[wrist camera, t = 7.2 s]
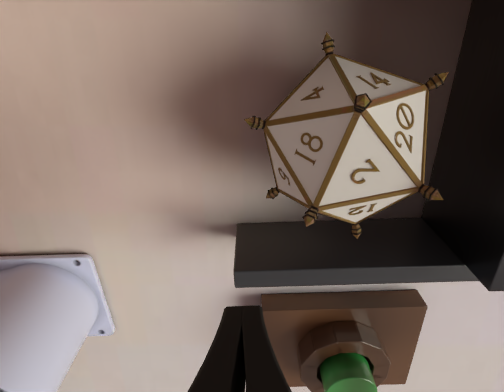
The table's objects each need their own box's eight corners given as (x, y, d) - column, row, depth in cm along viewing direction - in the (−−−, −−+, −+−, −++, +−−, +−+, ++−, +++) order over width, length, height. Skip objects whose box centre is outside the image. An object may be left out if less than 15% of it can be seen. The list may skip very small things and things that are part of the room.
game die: (299, 85, 22) (300, -53, 12) (426, 132, 20) (552, 17, 10) (241, 206, 21) (191, 167, 11) (369, 265, 19) (446, 282, 9)
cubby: (238, 237, 23) (232, 316, 16) (218, -53, 15) (195, -111, 9) (435, 231, 22) (505, 309, 16) (513, -66, 15) (701, -136, 9)
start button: (318, 382, 25) (323, 410, 23) (321, 351, 23) (326, 378, 22) (364, 381, 25) (373, 409, 23) (371, 350, 23) (381, 377, 21)
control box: (263, 369, 29) (264, 409, 26) (261, 294, 25) (262, 331, 22) (397, 365, 29) (415, 406, 26) (417, 289, 25) (441, 326, 22)
